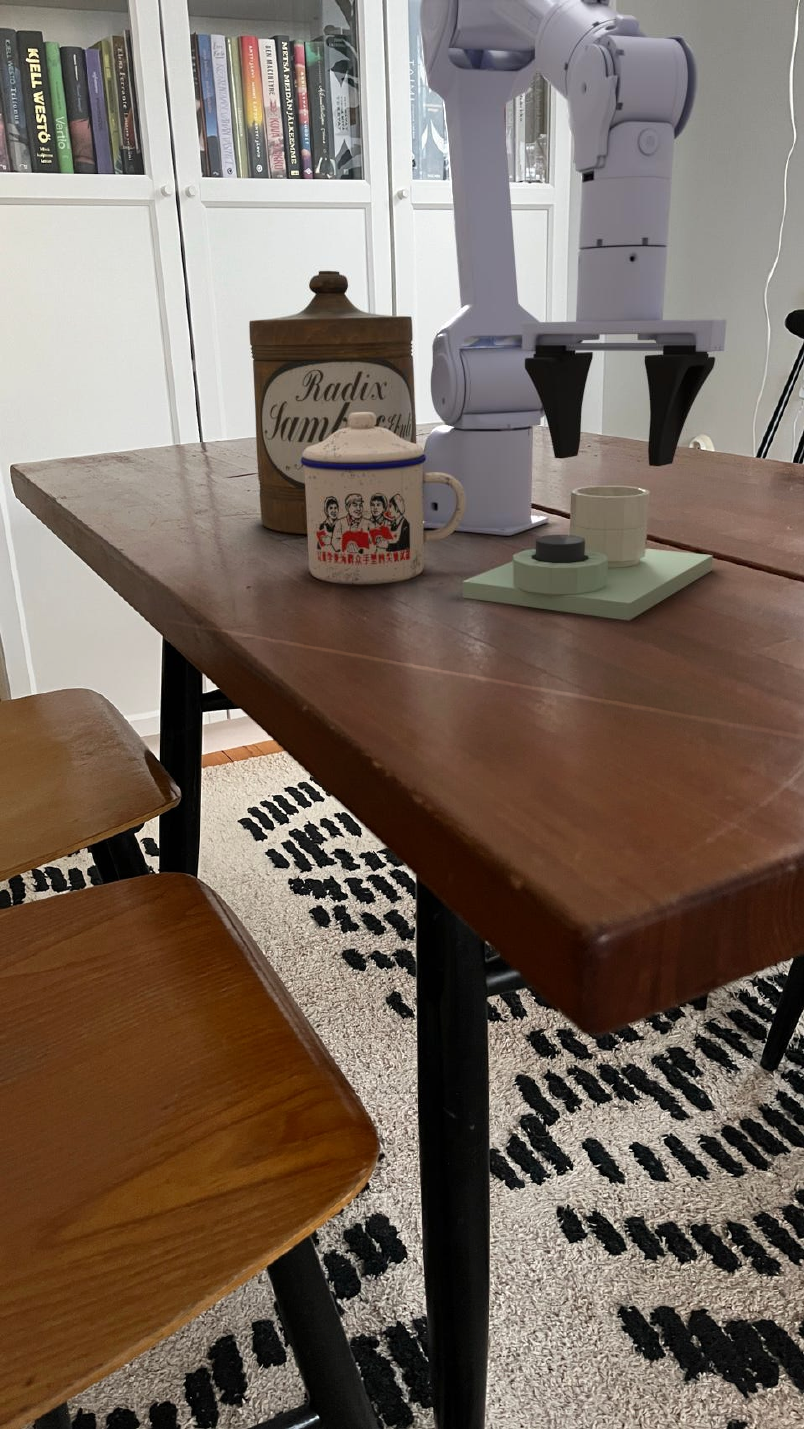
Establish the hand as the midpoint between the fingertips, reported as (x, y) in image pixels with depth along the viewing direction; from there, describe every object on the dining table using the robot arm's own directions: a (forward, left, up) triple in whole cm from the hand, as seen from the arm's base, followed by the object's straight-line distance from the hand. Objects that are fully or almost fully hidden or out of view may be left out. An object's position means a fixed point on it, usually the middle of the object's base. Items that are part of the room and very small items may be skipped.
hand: (611, 460), depth 74 cm
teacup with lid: (-15, -7, -8) cm, 18 cm away
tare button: (0, -8, -6) cm, 10 cm away
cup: (0, 0, -7) cm, 7 cm away
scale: (0, -3, -8) cm, 9 cm away
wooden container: (-31, +9, -8) cm, 34 cm away
